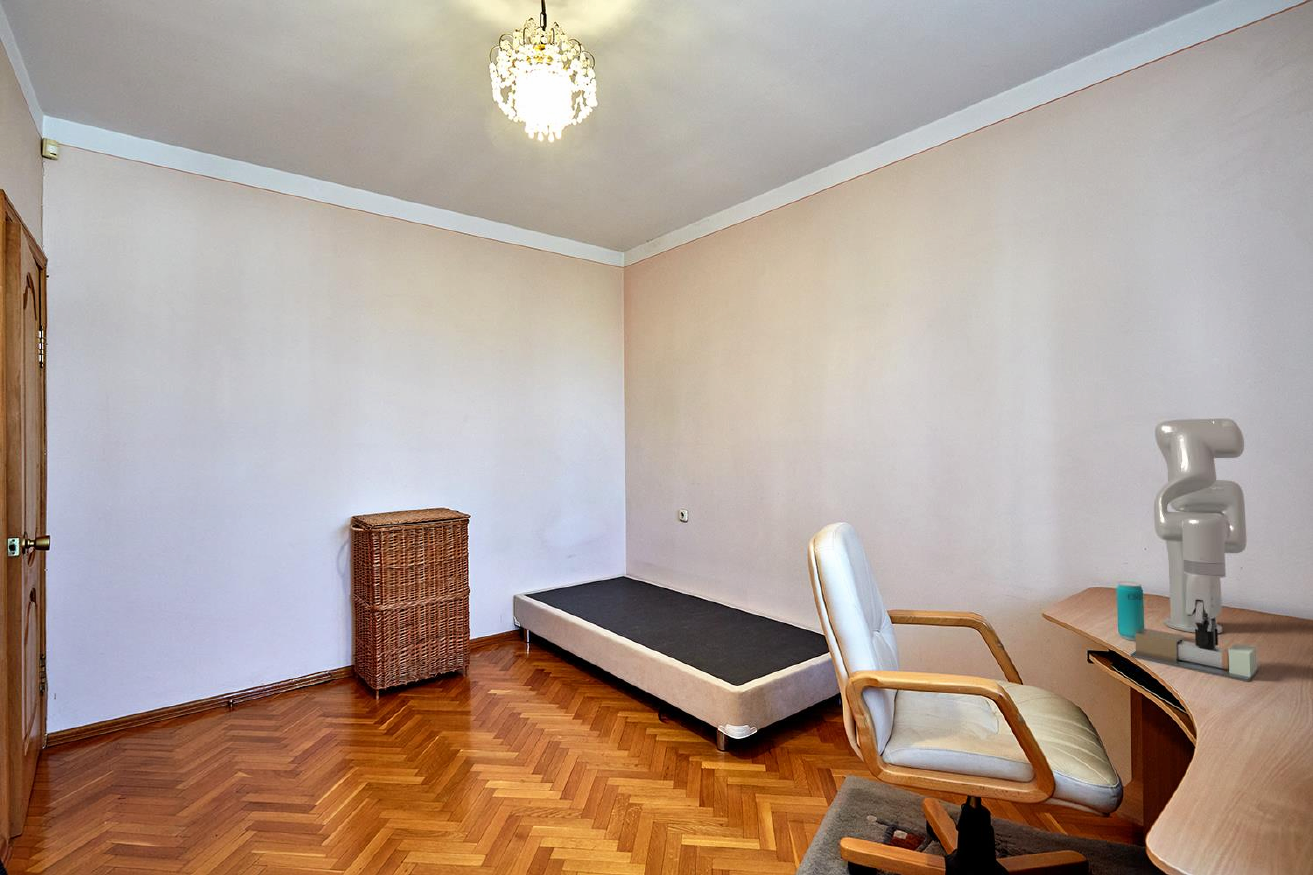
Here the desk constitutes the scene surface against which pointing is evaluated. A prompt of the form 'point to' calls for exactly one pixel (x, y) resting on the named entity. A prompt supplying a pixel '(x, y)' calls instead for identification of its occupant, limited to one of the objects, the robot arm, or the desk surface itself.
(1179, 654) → the grey slider block
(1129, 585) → the beverage can
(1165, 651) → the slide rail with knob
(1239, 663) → the socket
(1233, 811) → the desk surface
